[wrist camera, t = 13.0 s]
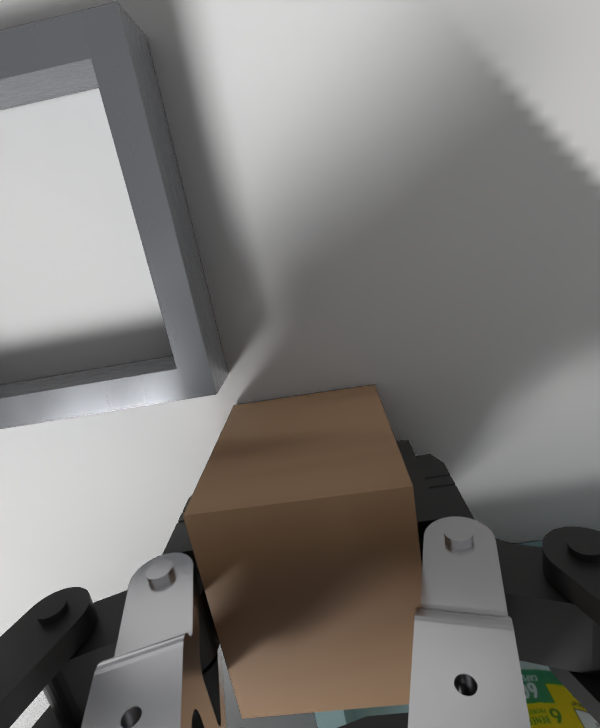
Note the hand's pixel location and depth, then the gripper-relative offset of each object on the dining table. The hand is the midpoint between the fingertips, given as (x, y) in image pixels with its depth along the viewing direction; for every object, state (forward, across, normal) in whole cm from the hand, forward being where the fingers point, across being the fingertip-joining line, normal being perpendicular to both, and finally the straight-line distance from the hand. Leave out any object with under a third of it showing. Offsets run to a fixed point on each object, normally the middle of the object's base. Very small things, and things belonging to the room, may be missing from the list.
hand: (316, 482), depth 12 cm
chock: (+1, 0, 0) cm, 1 cm away
